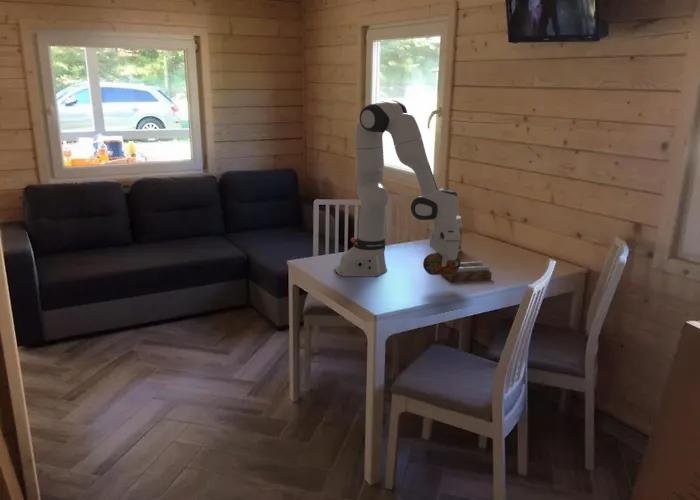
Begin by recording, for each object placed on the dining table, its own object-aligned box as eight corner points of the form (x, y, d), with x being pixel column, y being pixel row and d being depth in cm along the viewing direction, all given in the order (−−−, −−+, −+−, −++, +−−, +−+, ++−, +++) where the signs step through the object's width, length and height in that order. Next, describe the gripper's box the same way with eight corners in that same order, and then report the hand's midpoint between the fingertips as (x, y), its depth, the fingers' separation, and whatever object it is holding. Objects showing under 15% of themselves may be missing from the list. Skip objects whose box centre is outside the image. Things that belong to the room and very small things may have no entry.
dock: (450, 282, 246) (451, 270, 244) (439, 273, 257) (440, 262, 256) (491, 279, 250) (492, 268, 248) (478, 270, 261) (479, 259, 260)
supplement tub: (449, 246, 299) (451, 212, 294) (466, 251, 289) (468, 217, 284) (430, 249, 292) (432, 215, 288) (447, 255, 283) (449, 220, 278)
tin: (423, 275, 236) (426, 255, 233) (421, 272, 239) (423, 252, 236) (459, 274, 239) (462, 254, 236) (456, 271, 242) (459, 251, 239)
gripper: (427, 224, 243) (424, 257, 246) (446, 237, 224) (443, 272, 227) (442, 224, 244) (439, 256, 248) (462, 237, 225) (459, 272, 229)
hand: (441, 264), depth 237 cm, fingers closed on tin, 2 cm apart
